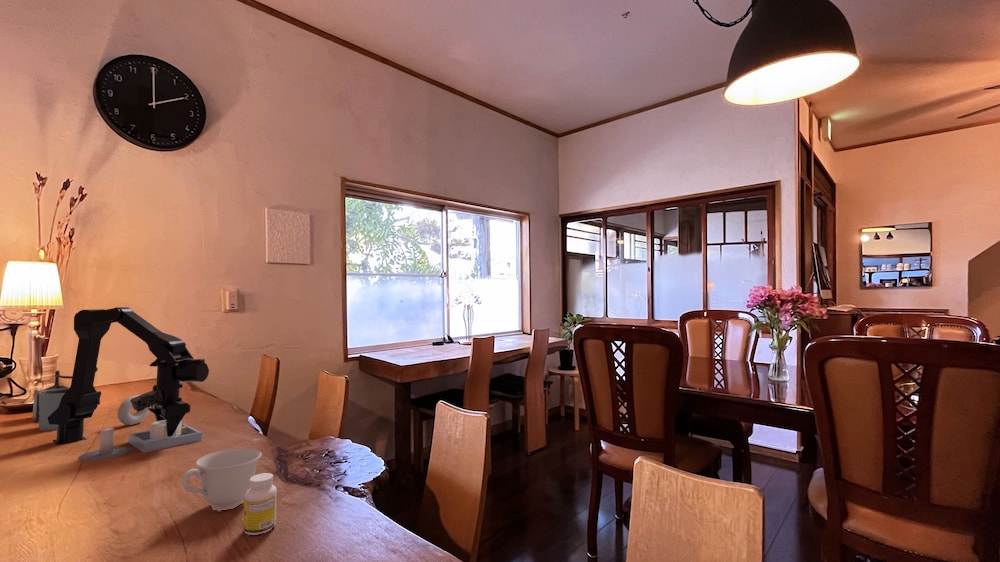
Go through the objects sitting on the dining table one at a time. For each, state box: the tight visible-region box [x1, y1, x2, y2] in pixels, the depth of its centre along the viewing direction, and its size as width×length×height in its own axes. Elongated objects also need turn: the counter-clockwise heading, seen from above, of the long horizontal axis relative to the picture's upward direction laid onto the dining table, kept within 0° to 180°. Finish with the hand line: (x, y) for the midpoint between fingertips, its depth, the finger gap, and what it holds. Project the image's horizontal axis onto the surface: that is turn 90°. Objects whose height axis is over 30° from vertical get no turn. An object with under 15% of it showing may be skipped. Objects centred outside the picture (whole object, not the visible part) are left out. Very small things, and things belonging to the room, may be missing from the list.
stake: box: [77, 427, 133, 462], centre depth 120 cm, size 11×11×7 cm
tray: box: [128, 423, 203, 454], centre depth 131 cm, size 14×14×3 cm
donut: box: [117, 394, 151, 426], centre depth 149 cm, size 10×3×10 cm, turn 168°
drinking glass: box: [38, 387, 70, 432], centre depth 145 cm, size 10×10×12 cm
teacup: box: [181, 447, 263, 510], centre depth 91 cm, size 12×15×10 cm
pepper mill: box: [31, 366, 99, 423], centre depth 159 cm, size 16×11×18 cm
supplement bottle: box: [243, 472, 278, 534], centre depth 83 cm, size 5×5×10 cm
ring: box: [149, 420, 187, 440], centre depth 131 cm, size 7×9×4 cm
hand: (165, 433), depth 131 cm, fingers closed on ring, 7 cm apart
